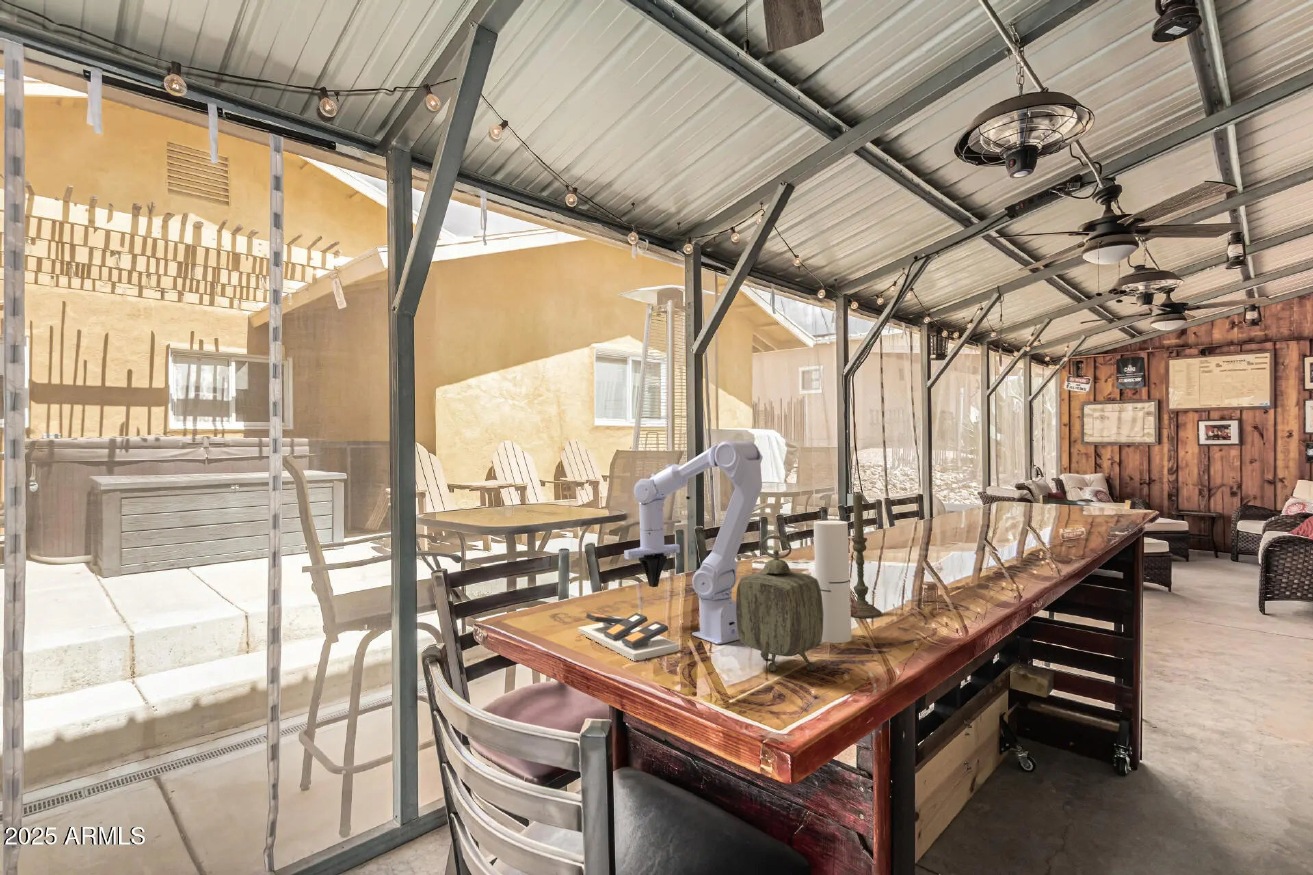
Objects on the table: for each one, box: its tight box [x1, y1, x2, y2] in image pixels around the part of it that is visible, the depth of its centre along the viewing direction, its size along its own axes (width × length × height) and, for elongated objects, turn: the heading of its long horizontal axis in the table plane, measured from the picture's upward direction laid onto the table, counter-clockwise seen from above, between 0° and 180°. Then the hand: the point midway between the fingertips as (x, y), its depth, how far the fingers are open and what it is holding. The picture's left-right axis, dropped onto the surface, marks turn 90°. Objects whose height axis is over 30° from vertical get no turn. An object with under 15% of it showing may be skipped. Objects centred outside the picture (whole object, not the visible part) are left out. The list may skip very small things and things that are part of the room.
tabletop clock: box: [735, 534, 824, 673], centre depth 123 cm, size 14×9×25 cm, turn 43°
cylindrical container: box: [813, 520, 852, 644], centre depth 142 cm, size 7×7×25 cm
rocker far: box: [585, 613, 626, 624], centre depth 150 cm, size 4×9×1 cm, turn 123°
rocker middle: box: [603, 612, 649, 641], centre depth 143 cm, size 4×9×1 cm, turn 123°
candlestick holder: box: [850, 491, 882, 619], centre depth 162 cm, size 9×9×30 cm
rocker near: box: [621, 621, 669, 648], centre depth 137 cm, size 4×9×1 cm, turn 123°
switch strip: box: [577, 622, 680, 662], centre depth 143 cm, size 25×11×2 cm, turn 33°
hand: (653, 586), depth 156 cm, fingers closed
